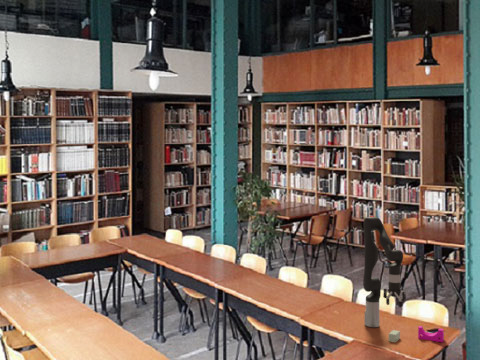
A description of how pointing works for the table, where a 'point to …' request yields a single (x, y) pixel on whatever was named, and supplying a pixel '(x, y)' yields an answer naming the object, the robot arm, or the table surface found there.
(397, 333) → the green brick
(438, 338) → the toy block
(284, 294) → the table surface
